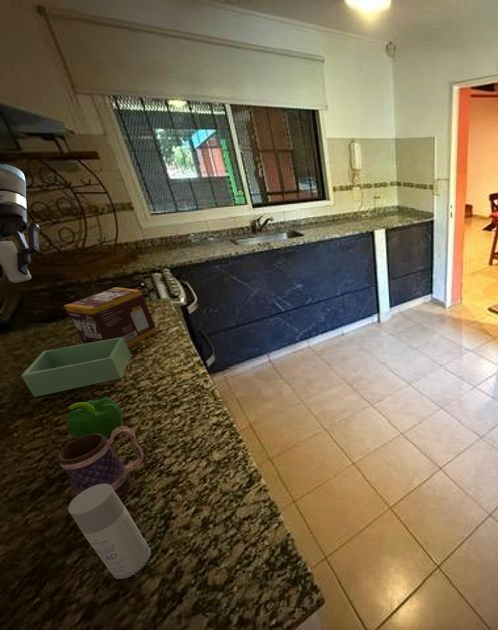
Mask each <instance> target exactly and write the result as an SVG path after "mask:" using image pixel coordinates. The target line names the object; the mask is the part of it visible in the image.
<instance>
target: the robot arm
mask: <svg viewBox="0 0 498 630" xmlns="http://www.w3.org/2000/svg"><path fill="white" fill-rule="evenodd" d="M27 211H28V206H27V181H26V177H25V174H24V172H23V171H22V170H20V169H19V168H18V167H15V166H14V165H13V166H12V165H10V164H1V163H0V241H8V238H9V237H14V238H15V241H16V243H17V245H18V247H19V250H18V271H19V272H21V273H22V274H24V275H28V272H27V269H28V265H29V264H31V263H32V258H31V257H32V255H33V254H38V253H40V244H39V232H40V230H41V227H40V226H39V225H38V224H37V223H36V222H30V223H29V222H28V213H27ZM26 230H27V237H28V239H27V240H28V242H27V240H26V236H25V235H24V232H25V231H26ZM3 273H4V270H3V268H2V266H1V265H0V279H1V278H3V277H4V276H3Z"/></svg>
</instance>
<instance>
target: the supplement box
mask: <svg viewBox="0 0 498 630" xmlns="http://www.w3.org/2000/svg"><path fill="white" fill-rule="evenodd" d="M63 307H64V309H65V311H66V313H67V315H68V317H69V318H70V320H71V322H72V325H73V326H74V328H75V330H76V332H77V334H78V336H79V338H80V340H81V342H82V344H86V343H91V342H97V341H102V340H108V339H113V338H119V337H123V338H124V340H125V342H126V345H127V347H128V348H129V347H131V346H132V345H134V344H136V343H138V342H140V341H142V340H144V339H146V338H147V337H149V336H152V335H154V334H155V333H158V332H157V331H158V330H157V328H156V325H155V322H154V320H153V318H152V315H151V312H150V309H149V307H148V304H147V302H146V299H145V297H144V295H143V292H142V290H141V289H134V288H127V287H117V286H116V287H111V288H109V289H107V290H104V291H100V292H98V293H96V294H92V295H90V296H87V297H84V298H82V299H79V300H75V301H72V302H70V303H67V304H64V305H63Z"/></svg>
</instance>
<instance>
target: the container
mask: <svg viewBox="0 0 498 630" xmlns="http://www.w3.org/2000/svg"><path fill="white" fill-rule="evenodd" d="M67 507H68V508H67V510H68V513H69V514H70V516H71V517H72V519H73V520H74V522H75V524H76V525H77V527H78V528H79V530H80V531H81V533H82V534H83V536H84V538H85V539H86V540H87V542H88V543H89V544H90V546H91V547H92V549H93V550H94V551H95V553H96V554H97V556H98V557H99V558H100V560H101V561H102V562H103V564H104V565H105V567H106V568H107V570H108V571H109V573H110V574H111V575H112V576H113V578H114V579H115V580H118V579H123V578H124V580H126V579H125V578H127V579H129V578H128V577H130V578H132V577H133V576H132V575H134V576H136V574H135V573H137V572H138V571H139V572H141V571H142V570H143V569H144V568H145V567H146V566H147V564H148V563H149V561H150V559H151V557H152V551H151V548H150V546H149V545H148V543H147V541H146V540H145V538H144V537H143V535H142V533H141V531H140V530H139V528H138V526H137V524H136V523H135V521H134V519H133V517H132V516H131V513H129V511H128V509H127V508H126V506H125V505H124V503H123V501H122V500H121V499H120V498H119V497H118V496H117V494H116V493H115V491H114V490H113V488H112V487H111V485H109V484H98V485H95V486H92V487H90V488H88V489H86V490H84V491H83V492H81V493H80V494H78V495H77V494H76V496H75V497H74V498H73V499H72V500H71V501H70V503H69V505H68V506H67ZM150 556H151V557H150ZM149 558H150V559H149ZM148 560H149V561H148ZM147 562H148V563H147ZM146 563H147V564H146ZM145 565H146V566H145ZM144 566H145V567H144ZM143 567H144V568H143ZM142 568H143V569H142ZM141 569H142V570H141ZM140 570H141V571H140ZM139 572H138V573H139ZM138 573H137V574H138ZM131 576H132V577H131Z"/></svg>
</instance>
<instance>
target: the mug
mask: <svg viewBox="0 0 498 630" xmlns="http://www.w3.org/2000/svg"><path fill="white" fill-rule="evenodd" d="M120 435H126V436H128V437H130V440H131V443H132V445H133V447H134V449H135V452H136V454H137V458H136V459H135V460H133V461H131V462H130V463H128V464H126V465H125V463H124V462H122V461H121V460H120V458H119V457H118V455H117V453H116V452H115V450H114V449H113V447H112V444H114V443H115V440H116V438H117V437H118V436H120ZM136 436H137V435H136V434H135V430H133V429H131V428H130V427H128V426H127V425H123V426H120V427H118V428H116V429H115V430H114V431H113V432H112V433H111V438H110V439H109V440H107V439H106V438H105V437H104V436H103V435H102V434H89V435H85V436H82V437H79V438H75V439H72V440H71V441H70V442H68V443H67V444H65V445H64V446H63V447H62V448H61V449H60V451H58V453H57V459H58V462H59V464H60V466H61V468H62V469H63V470H64V472H65V473H66V475H67V477H68V479H69V481H70V482H71V484H72V486H73V491H74V492H75V495H76V496H77V495H78V494H80V493H81V492H83V491H84V490H86V489H88V488H90V487H92V486H95V485H98V484H109V485H111V487H112V488H113V490H114V491H115V493H116V494H117V496H118V497H119V499H120V498H122V497H123V496H124V495H125V494H126V493H127V492H128V490H129V489H130V488H131V486H132V485H133V484H132V483H133V477H132V476H131V474H129V471H131V470H133V469H134V468H136V467H137V466H138V465H140V464H141V463H142V462H143V459H144V452H143V450H142V448H141V446H140V443H139V442H138V440H137V437H136Z"/></svg>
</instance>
